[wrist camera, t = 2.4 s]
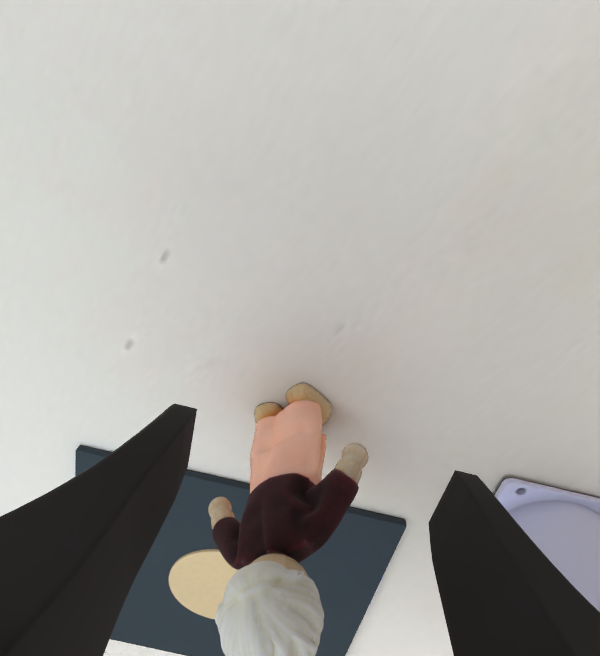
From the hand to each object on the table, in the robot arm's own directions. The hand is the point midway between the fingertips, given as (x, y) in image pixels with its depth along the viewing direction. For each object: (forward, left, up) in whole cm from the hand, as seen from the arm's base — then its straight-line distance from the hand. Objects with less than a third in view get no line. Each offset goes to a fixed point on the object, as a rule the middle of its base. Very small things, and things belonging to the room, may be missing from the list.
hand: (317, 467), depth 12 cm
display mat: (+2, +21, -10) cm, 23 cm away
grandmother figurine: (0, +6, -11) cm, 12 cm away
